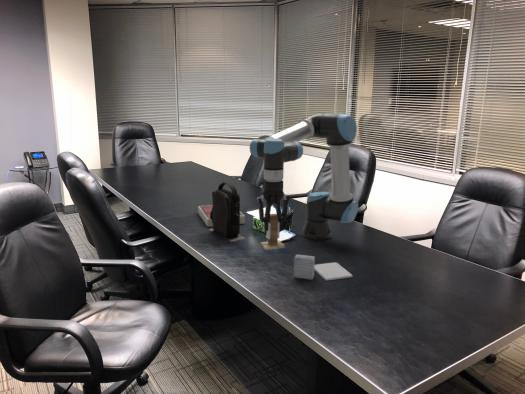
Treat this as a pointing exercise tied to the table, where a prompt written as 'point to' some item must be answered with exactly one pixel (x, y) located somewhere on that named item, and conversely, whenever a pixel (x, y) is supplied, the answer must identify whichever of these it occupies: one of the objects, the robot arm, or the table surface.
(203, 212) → the product packaging
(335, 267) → the mat
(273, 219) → the wooden stamp
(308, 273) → the medicine box
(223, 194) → the shoulder bag
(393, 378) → the table surface
